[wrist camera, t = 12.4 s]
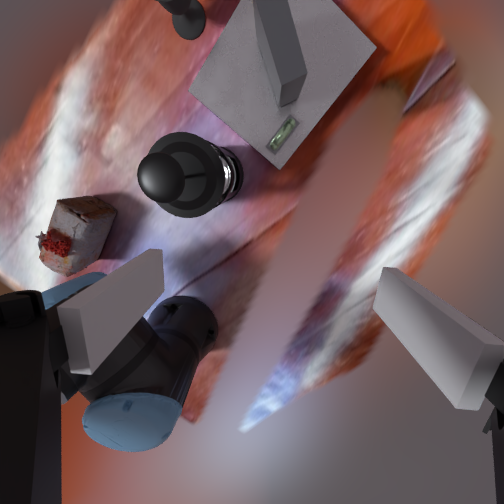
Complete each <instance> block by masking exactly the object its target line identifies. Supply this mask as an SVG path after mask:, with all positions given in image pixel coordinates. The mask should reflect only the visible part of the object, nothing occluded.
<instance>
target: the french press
mask: <svg viewBox="0 0 504 504" xmlns="http://www.w3.org/2000/svg"><path fill="white" fill-rule="evenodd" d="M211 145H213V146H211ZM235 172H236V173H235ZM243 176H244V174H243V168H242V165H241V163H240V161H239V159H238V158H237V157H236V156H235V154H234V153H232V152H231V151H230V150H228V149H225V148H222V147H219V146H217V145H215V144H213V143H211V142H209V141H207V140H204V139H203V138H201V137H199V136H197V135H195V134H191V133H187V132H175V133H170V134H168V135H166V136H163V137H162V138H160V139H159V140H158V141H157V142H156V143H155V144H154V145H153V146H152V147H151V149H150V151H149V153H148V155H147V156H146V157H144V159H143V160H142V161H141V163H140V164H139V167H138V172H137V177H138V182H139V185H140V187H141V189H142V191H143V192H144V194H145V195H146V196H147V197H149V198H150V199H152V200H153V201H156V203H157V204H158V205H159V206H160V207H161V208H163V209H164V210H166V211H167V212H168V213H171V214H173V215H175V216H179V217H183V218H193V217H199V216H201V215H204V214H206V213H207V212H209V211H210V210H212V209H213V208H215V207H217V206H218V205H220V204H222V203H223V202H226V201H228V200H230V199H232V198H233V197H235V196H236V195H237V194H238V192H239V191H240V189H241V187H242V184H243ZM217 203H219V204H217Z"/></svg>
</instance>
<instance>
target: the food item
mask: <svg viewBox="0 0 504 504" xmlns="http://www.w3.org/2000/svg"><path fill="white" fill-rule="evenodd" d="M116 211H117V210H116V209H115V208H113V207H112V206H111V205H109V204H106V203H104V202H103V201H101V200H99V199H97V198H95V197H92V196H83V197H76V198H67V199H62V200H61V199H60V200H57V204H56V207H55V209H54V212H53V215H52V218H51V221H50V224H49V227H48V231H47V234H43V233H42V231H41V234H40V236H36V237H37V238H39V242H38V246H39V249H40V251H41V252H40V256H39V258H40V260H41V261H42V263H43V264H44V265H45V266H47V267H48V268H50V269H51V270H52V271H54V272H57V273H59V274H61V275H64V276H66V277H68V276H71V275H73V274H76V273H77V272H79V271H81V270H83V269H84V268H87V266H88V265H90V264H92V263H93V262H95V261H96V260H98V257H99V256H100V253H101V251H102V248H103V245H104V243H105V241H106V238H107V236H108V233H109V231H110V228H111V225H112V223H113V220H114V217H115V215H116Z"/></svg>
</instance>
